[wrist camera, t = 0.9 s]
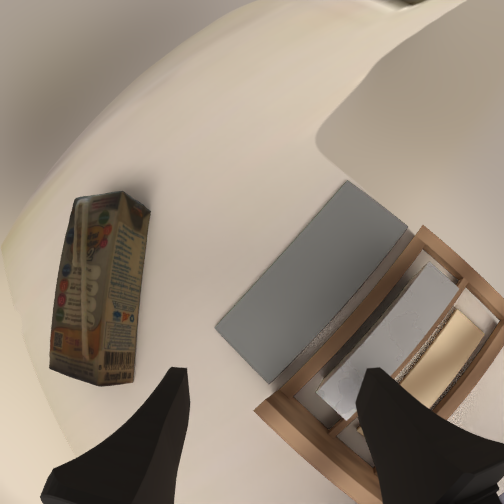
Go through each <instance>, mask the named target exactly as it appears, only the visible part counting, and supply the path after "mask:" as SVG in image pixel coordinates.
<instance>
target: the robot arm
mask: <svg viewBox="0 0 504 504" xmlns="http://www.w3.org/2000/svg"><path fill="white" fill-rule="evenodd" d="M355 404H356V409H357V414H358V418H359V422H360V425H361V428H362V431H363V434H364V436H365V439H366V442H367V445H368V447H369V450H370V453H371V455H372V458H373V461H374V464H375V467H376V470H377V475H378V479H379V484H380V489H381V495H382V501H383V504H504V493H503V494H501V495H500V496H499V497H498V495H497V493H496V492H497V491H498V490H499V487H498V485H497V483H498V482H499V481H500V479H501V478H502V477H503V476H504V444H503V443H500V442H496V441H492V440H488V439H485V438H483V437H480V436H477V435H475V434H472V433H470V432H468V431H466V430H464V429H461V428H459V427H457V426H455V425H454V424H452V423H450V422H448V421H447V420H445V419H443V418H442V417H440V416H439V415H437V414H436V413H434V412H433V411H431V410H430V409H429V408H427V407H426V406H425V405H423V404H422V403H421V402H420V401H418V400H417V399H416V398H415V397H413V396H412V395H411V394H410V393H409V392H408V391H406V390H405V389H404V388H403V387H402V386H401V385H400V384H399V383H397V382H396V381H395V380H394V379H393V378H392V377H391V376H390V375H389V374H387V373H386V372H385V371H384V370H383V369H382V368H380V367H376V368H367V369H366V372H365V376H364V379H363V382H362V384H361V387H360V390H359V393H358V396H357V399H356V402H355ZM189 411H190V396H189V385H188V374H187V368H178V367H171V368H170V369H169V370H168V371H167V373H166V375H165V376H164V378H163V379H162V380H161V382H160V383H159V385H158V386H157V387H156V389H155V390H154V391H153V393H152V394H151V395H150V396H149V398H148V399H147V400H146V401H145V402H144V404H143V405H142V406H141V407H140V408H139V409H138V410H137V411H136V412H135V413H134V415H133V416H132V417H131V418H130V419H129V420H128V421H127V422H126V423H125V424H123V425H122V426H121V427H120V428H119V429H118V430H117V431H116V432H114V433H113V434H112V435H111V436H109V437H108V438H107V439H105V440H104V441H103V442H101V443H100V444H99V445H97V446H96V447H94V448H92V449H91V450H89V451H87V452H86V453H84V454H83V455H81V456H79V457H77V458H76V459H73V460H72V461H69V462H67V463H65V464H63V465H61V466H58V467H56V468H54V469H53V470H52V472H51V474H50V475H49V477H48V479H47V481H46V483H45V486H44V488H43V491H42V493H41V496H40V498H41V501H42V503H43V504H174V496H175V486H176V477H177V471H178V466H179V462H180V458H181V453H182V449H183V445H184V440H185V436H186V432H187V427H188V420H189Z"/></svg>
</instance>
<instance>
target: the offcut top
mask: <svg viewBox="0 0 504 504" xmlns="http://www.w3.org/2000/svg"><path fill="white" fill-rule="evenodd" d="M484 335H485V334H484V333H483V332H482V331H481V330H480V329H479V328H478V327H477V326H475V325H474V324H473V323H472V322H471V321H470V320H469V319H468V318H467V317H466V316H465V315H463V314H462V313H461V312H460V311H459V310H458V309H457V310H455V311H454V312H453V314H452V315H451V317H450V318H449V320H448V321H447V323H446V324H445V326H444V327H443V328H442V330H441V331H440V333H439V334H438V335H437V337H436V338H435V339H434V341H433V342H432V343H431V345H430V346H429V347H428V349H427V350H426V351H425V353H424V354H423V355H422V356H421V358H420V359H419V360H418V361H417V363H416V364H415V365H414V366H413V368H412V369H411V370H410V371H409V373H408V374H407V375H406V376H405V377H404V379H403V380H402V381H401V382H400V383H399V384H400V385H401V386H402V387H403V388H404V389H405V390H406V391H408V392H409V393H410V394H411V395H412V396H413V397H415V398H416V399H417V400H418V401H420V402H421V403H422V404H423V405H425V406H426V407H427V408H430V407H431V406H432V405H433V404H434V403H435V401H436V400H437V399H438V398H439V397H440V395H441V394H442V393H443V392H444V390H445V389H446V388H447V387H448V385H449V384H450V383H451V382H452V380H453V379H454V378H455V376H456V375H457V374H458V372H459V371H460V370H461V368H462V367H463V366H464V364H465V363H466V361H467V360H468V359H469V357H470V356H471V354H472V353H473V351H474V350H475V348H476V347H477V345H478V344H479V342H480V341H481V339H482V338H483V336H484ZM357 432H359V433H360V434H361V435H362V436H364V434H363V431H362V428H361V425H360V426H359V427H358V428H357ZM364 437H365V436H364Z"/></svg>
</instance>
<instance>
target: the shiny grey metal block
mask: <svg viewBox="0 0 504 504" xmlns="http://www.w3.org/2000/svg"><path fill="white" fill-rule="evenodd" d="M458 290H459V288H458V287H457V286H456V285H455V284H454V283H453V282H452V281H450V280H449V279H448V278H447V277H446V276H445V275H444V274H443V273H442V272H441V271H439V270H438V269H437V268H436V267H435V266H434V265H433V264H431V263H430V262H428V263H427V264H426V265H425V266H424V267H423V268H422V269H421V270H420V271H419V272H418V273H417V274H416V275H415V276H414V277H413V278H412V279H411V280H410V281H409V282H408V284H407V285H406V286H405V288H404V289H403V290H402V291H401V293H400V294H399V295H398V296H397V298H396V299H395V300H394V301H393V303H392V304H391V305H390V306H389V307H388V309H387V310H386V311H385V312H384V313H383V315H382V316H381V317H380V318H379V319H378V320H377V322H376V323H375V324H374V325H373V326H372V327H371V329H370V330H369V331H368V332H367V333H366V334H365V335H364V337H363V338H362V339H361V340H360V341H359V342H358V343H357V344H356V345H355V347H354V348H353V349H352V350H351V351H350V352H349V353H348V354H347V355H346V356H345V357H344V358H343V359H342V361H341V362H340V363H339V364H338V365H337V366H336V367H335V368H334V369H333V370H332V371H331V372H330V373H329V374H328V375H327V376H326V377H325V378H324V379H323V381H322V383H321V384H320V386H319V388H318V389H317V391H316V393H317V394H318V395H319V396H320V397H321V398H322V399H323V400H324V401H325V402H326V403H327V404H329V405H330V406H331V407H332V408H333V409H334V410H335V411H336V412H337V413H338V414H340V415H341V416H342V417H343V418H344V419H345V420H346V421H347V420H348V419H349V418H350V417H351V416H352V415H353V414H354V413H355V412H356V411H357V409H356V404H355V402H356V399H357V396H358V393H359V390H360V387H361V384H362V382H363V379H364V376H365V372H366V369H367V368H376V367H380V368H382V369H383V370H384V371H385V372H386V373H387V374H389V375H390V376H391V375H392V374H393V373H394V372H395V371H396V369H397V368H398V367H399V366H400V365H401V364H402V363H403V361H404V360H405V359H406V358H407V357H408V356H409V354H410V353H411V352H412V351H413V350H414V348H415V347H416V346H417V345H418V344H419V342H420V341H421V340H422V339H423V337H424V336H425V335H426V334H427V332H428V331H429V330H430V329H431V327H432V326H433V325H434V323H435V322H436V321H437V319H438V318H439V317H440V315H441V314H442V313H443V311H444V310H445V309H446V307H447V306H448V304H449V303H450V302H451V300H452V299H453V297H454V296H455V294H456V293H457V291H458Z"/></svg>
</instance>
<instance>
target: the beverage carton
mask: <svg viewBox="0 0 504 504" xmlns="http://www.w3.org/2000/svg"><path fill="white" fill-rule="evenodd" d="M150 213H151V211H149V210H148V209H147V208H146V207H145V206H144V205H143V204H141V203H140V202H138V201H136V200H135V199H133V198H132V197H130V196H129V195H128V194H126V193H125V192H124V191H118V192H111V193H106V194H99V195H91V196H83V197H78V198H76V199H75V200H74V203H73V207H72V211H71V215H70V220H69V225H68V228H67V232H66V236H65V240H64V245H63V250H62V255H61V261H60V266H59V272H58V278H57V284H56V291H55V299H54V307H53V317H52V327H51V338H50V365H49V368H50V369H52V370H54V371H56V372H59V373H61V374H64V375H66V376H69V377H72V378H75V379H78V380H81V381H84V382H87V383H90V384H93V385H96V386H112V385H120V384H127V383H133V374H134V360H135V346H136V332H137V319H138V309H139V298H140V289H141V279H142V272H143V264H144V257H145V249H146V242H147V232H148V226H149V218H150Z"/></svg>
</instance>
